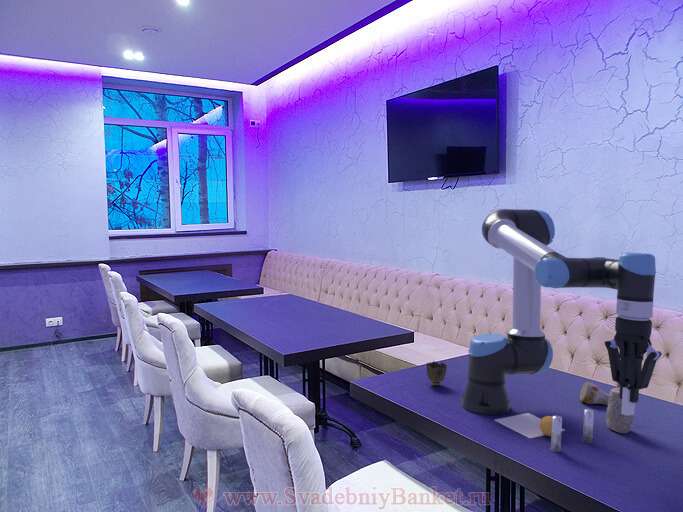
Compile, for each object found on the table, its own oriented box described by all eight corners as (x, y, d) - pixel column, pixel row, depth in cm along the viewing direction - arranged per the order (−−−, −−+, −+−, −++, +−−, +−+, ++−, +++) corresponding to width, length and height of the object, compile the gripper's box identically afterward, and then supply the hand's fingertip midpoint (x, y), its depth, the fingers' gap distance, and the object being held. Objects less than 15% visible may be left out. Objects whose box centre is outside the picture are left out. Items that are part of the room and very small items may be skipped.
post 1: (548, 449, 133) (550, 416, 132) (555, 447, 134) (556, 414, 133) (556, 452, 131) (557, 419, 130) (562, 451, 132) (564, 418, 131)
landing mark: (494, 420, 152) (494, 419, 151) (528, 413, 158) (528, 413, 158) (529, 438, 139) (530, 438, 139) (565, 430, 145) (565, 429, 145)
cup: (449, 384, 185) (449, 363, 184) (441, 390, 178) (442, 368, 178) (430, 380, 189) (430, 360, 188) (422, 385, 182) (423, 364, 182)
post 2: (580, 441, 138) (582, 409, 138) (586, 439, 139) (588, 408, 139) (588, 444, 136) (590, 412, 135) (594, 443, 137) (596, 411, 136)
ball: (554, 433, 137) (542, 441, 140) (568, 429, 139) (555, 437, 143) (543, 414, 140) (532, 422, 143) (557, 411, 142) (545, 419, 146)
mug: (617, 410, 163) (604, 384, 162) (587, 417, 168) (574, 392, 166) (614, 397, 170) (601, 373, 169) (585, 405, 174) (572, 381, 173)
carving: (623, 436, 142) (626, 395, 141) (600, 426, 149) (602, 387, 148) (638, 433, 144) (641, 392, 144) (615, 423, 151) (617, 384, 150)
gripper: (598, 313, 123) (593, 406, 125) (651, 323, 111) (644, 426, 113) (618, 311, 126) (613, 402, 128) (671, 321, 115) (664, 421, 116)
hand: (627, 413), depth 120 cm, fingers closed
